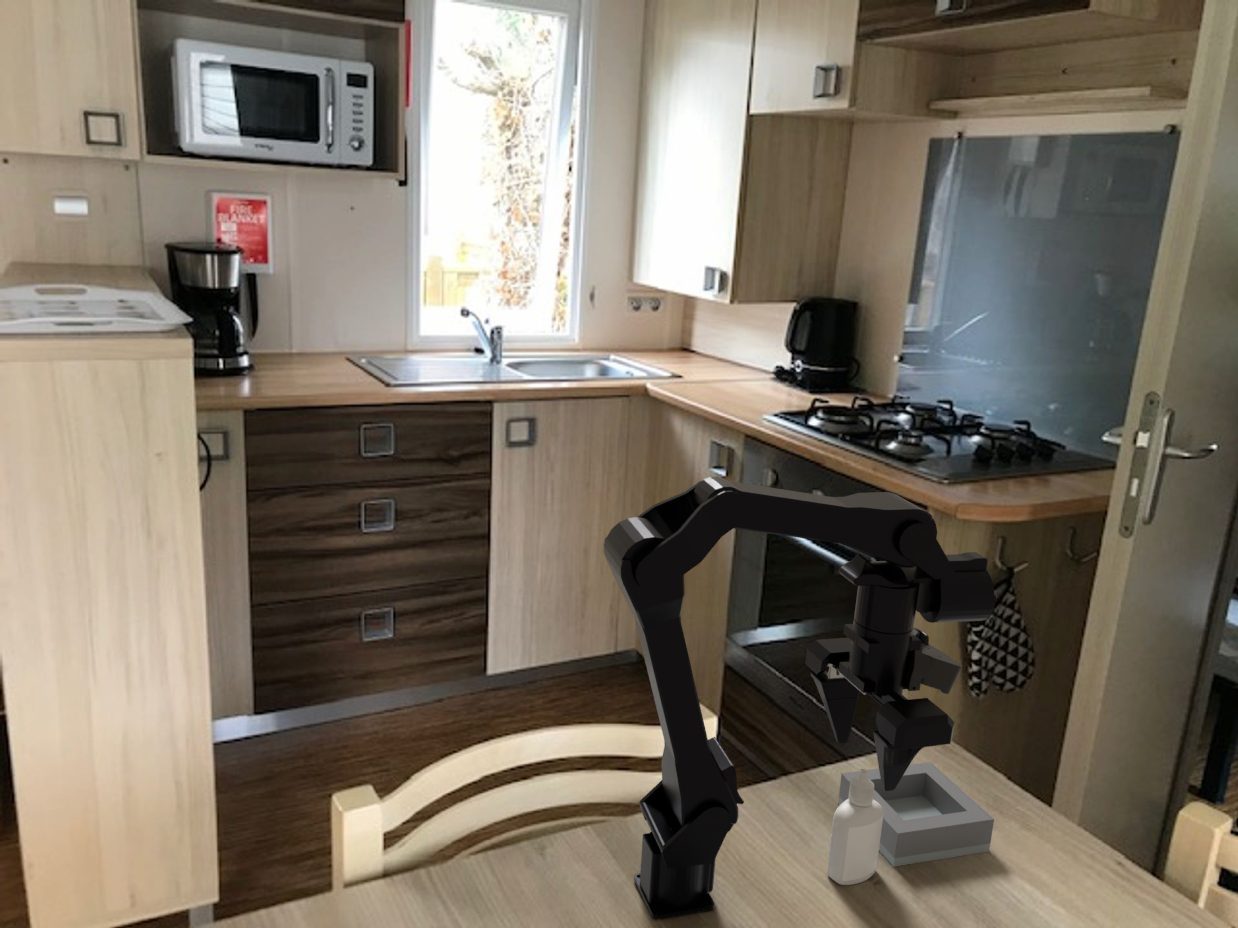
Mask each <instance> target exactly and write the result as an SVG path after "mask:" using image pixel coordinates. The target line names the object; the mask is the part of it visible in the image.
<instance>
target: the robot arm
mask: <svg viewBox="0 0 1238 928" xmlns="http://www.w3.org/2000/svg"><path fill="white" fill-rule="evenodd" d="M934 519H935V518H934V517H933V515H932V514H931V513H929V512H928V511H926V510H924V509H923V508H921V507H919V506H917V504H916V505H915V504H914V503H912V502H910V501H908V500H906V499H904V498H903V497H901V496H899V495H897V494H896V493H892V492H889V491H888V492H887V491H883V492H882V491H878V492H877V491H876V492H874V491H873V492H855V493H854V494H849V495H846V496H827V495H822V494H815V493H807V492H801V491H795V490H789V489H782V488H775V487H768V486H762V485H755V484H750V483H743V482H736V481H730V480H727V479H724V478H723V477H720V476H709V477H705V478H704V479H701V480H700V481H698V482H696V484H694V485H692V486H691V487H690V488H688V489H687V490H685V491H683V492H681V493H678V494H677V495H674V496H671V497H669V498H666V499H664V500H662V501H660V502H657V503H655V504H654V505H652V506H650V507H648V508H647V509H646V510H645V511H643V512H641V513H640V514H639V515H637V516H635V517H628V518H625V519H623V520H622V521H619V522H618V523H616V525H614V526H613V527H612V528H611V530H610V531H609V533H608V534H607V536H606V537H605V538H604V541H603V554H604V558H605V560H606V562H607V564H608V566H609V568H610V571H611V572H612V575H613V577H614V579H615V582H616V584H617V586H618V588H619V590H620V592H621V594H622V596H623V598H624V600H625V602H626V604H627V606H628V607H629V609H630V612H631V614H632V615H633V618H634V621H635V625H636V630H637V633H638V637H639V642H640V645H641V649H642V654H643V658H644V663H645V666H646V669H647V671H646V672H647V675H648V678H649V682H650V687H651V690H652V691H651V692H652V695H653V699H654V703H655V707H656V712H657V716H658V720H659V724H660V728H661V732H662V736H663V741H664V742H663V743H664V747H663V751H662V756H661V762H660V763H661V780H660V781H659V782H658V783H657V784H656V785H655V786H654V787H653V788H652V789H651V790H649V791H648V793H646V794H645V795H644V796H643V797H642V798H641V799H640V800H639V802H638V803H639V804H638V805H639V806H640V811H641V813H642V816H643V819H644V820H645V821H646V823H647V824H648V827H649V830H650V832H647V833H643V834H642V843H641V844H642V845H641V859H640V872H636V873H634V875H633V880H634V882H635V885H636V886H637V889H638V891H639V893H640V895H641V897H642V899H643V901H644V903H645V906H646V907H647V910H648V912H649V914H650V915H651V917H652V918H653V919H655V920H656V919H657V920H658V919H664V918H665V919H666V918H671V917H677V916H678V917H679V916H682V915H684V916H685V915H688V914H695V913H702V912H707V911H712V910H715V907H716V906H715V901H714V899H713V897H712V896H711V895H710V893H711V892H713V890H714V882H715V881H714V880H715V870H716V857H717V855H718V853H719V851H720V849H721V847H722V845H723V842H724V840H725V839H726V836H727V834H728V833H729V832H730V831H731V830H732V828H733V827H734V825H736V824H737V823H738V821H739V816H740V815H739V806H738V805H744V804H745V803H744V802H745V801H744V800H743V797H742V796H741V794H740V793H739V791H738V787H737V783H738V782H737V772H736V766H735V764H733V762H732V760H731V759H730V758H729V756H728V754H727V753H726V751H725V750H724V749H723V746H722V745H721V744H720V742H719V741H718V739H717V738H716V737H715V736H713V737H711V738H709V739H708V735H707V731H706V726H705V722H704V718H703V713H702V709H701V705H700V699H699V695H698V691H697V688H696V682H695V678H694V674H693V670H692V666H691V665H692V664H691V661H690V656H689V651H688V647H687V644H686V643H687V642H686V638H685V634H684V630H683V626H682V625H683V624H682V621H681V620H682V618H681V617H682V611H683V605H684V600H685V595H686V594H685V574H687V573H688V572H689V571H691V570H692V569H694V568H695V567H697V566H698V565H699V564H701V563H702V562H703V561H704V559H705V558H706V557H707V556H708V554H709V553H710V552H711V550H713V548H714V547H715V546H716V545H717V543H718V542H719V541H720V539H722V537H723V536H725V535H726V534H727V533H729V532H730V531H732V530H733V529H734V530H742V531H749V532H756V533H763V534H771V535H777V536H783V537H791V538H799V539H806V540H814V541H819V542H820V541H821V542H826V543H834V544H841V545H844V546H846V547H848V548H852V549H854V550H855V551H856V550H857V551H859V552H861V553H857V554H856V555H855V557H854V558H853V559H851V560H850V561H848V562H845V563H844V564H843V565H841V566H840V567H839V568H838V573H839V574H840V575H841V576H843V577H844V578H845V579H847V581H848V582H850V583H852V585H854V586H856V587H857V592H856V602H855V609H854V617H853V623H845V624H844V625H843V635H844V636H846V637H840V638H838V637H836V638H835V637H834V638H826V639H825V638H823V639H815V640H814V641H813V642H812V643H810V645H809V646H808V647H807V648H806V655H805V665H806V666H807V667H808V668H809V669H810V670H811V671H810V677H811V678H812V679H813V680H814V683H815V685H816V688H817V692H818V693H819V695H820V698H821V701H822V703H823V706H824V709H825V712H826V715H827V718H828V720H829V722H830V723H829V724H830V726H831V729H832V732H833V736H834V737H835V740H836V742H837V743H838V744H839V745H842V744H847V743H848V742H849V738H850V735H851V732H852V728H853V723H854V720H855V719H854V718H855V716H856V715H855V713H856V709H857V704H858V700H859V695H860V694H861V693H862V694H863V695H864V696H865V695H867V696H870V697H871V699H873V700H874V701H875V702H876V703H878V705H880V706H881V707H880V708H879V709H878V710H877V711H876V715H875V716H876V717H875V723H876V726H877V730H873V732H872V733H873V738H874V746H875V751H876V757H877V764H878V769H879V772H880V778H881V782H882V786H883V789H884V790H885V791H892V790H894V789H895V788H896V786H897V785H898V783H899V781H900V780H901V778H902V776H903V775H904V773H905V771H906V770H907V768H908V766H909V765H911V763H912V762H913V760H914V759H915V757H916V756H917V754H919V752H920V751H921V750H922V749H924V748H929V747H936V746H937V747H938V746H943V745H951V743H952V741H953V734H954V729H955V721H954V720H953V719H952V718H951V717H950V715H949V714H947V713H946V712H945V711H944V710H943V709H942V708H940V707H939V706H937V704H935V703H934V702H933V701H932V700H930V699H929V698H928V697H922V698H911V699H910V698H909V699H908V698H907V697H906V696H904V695H903V690H907V691H908V692H916V691H920V690H921V685H922V686H923V685H924V686H927V687H930V688H931V689H932V688H933V689H936V690H938V691H940V693H942V694H945V695H949V694H950V693H951V690H952V688H953V686H954V684H955V682H956V680H957V679H958V676H959V673H960V672H961V670H962V668H963V665H962V664H960V663H958V662H957V660H955V659H953V658H952V657H951V656H949V655H948V654H946V653H945V652H943V651H942V650H940V649H938V648H936V647H935V646H933V645H932V644H930V643H929V642H930V638H929V635H928V634H927V633H925V632H924V631H923V630H921V629H919V628H917V627H914V626H915V621H916V614H917V613H919V614H920V616H921V617H922V618H923V620H925V621H926V622H928V623H931V624H933V623H934V624H935V623H953V622H954V623H955V622H956V623H957V622H958V623H959V622H960V623H961V622H976V621H977V622H979V621H986V620H987V619H989V618H990V616H991V615H992V614H993V612H994V610H995V606H996V601H997V596H996V594H995V588H994V583H993V580H992V577H991V575H990V573H989V571H988V570H987V568H988V561H989V560H988V558H987V557H985V556H983V555H981V554H979V553H978V552H976V551H972V552H971V551H970V552H969V551H967V552H966V551H965V552H963V553H959V554H946V553H945V551H944V549H943V548H942V546H941V544H940V543H939V541H938V539H937V536H938V528H937V522H936V520H934ZM862 553H863V554H866V555H868V556H870V557H873V558H875V559H877V560H880V561H876V560H875V561H871V560H870V559H868V558H867V557H865V556H864V555H863V554H862ZM916 612H917V613H916Z"/></svg>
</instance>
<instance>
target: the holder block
mask: <svg viewBox="0 0 1238 928" xmlns="http://www.w3.org/2000/svg"><path fill="white" fill-rule="evenodd" d="M866 770H867V773H868V779H869V780H871V781H872V782H873V783H874V794H873V800H875V801H877V802H878V803H879V804H880V805H881V806H882V808H883V822H882V830H881V838H880V846H879V853H881V855H883V857H884V858H885V859H886V860H887V862H889V863H890V865H891V866H892V867H898V866H905V865H912V864H919V863H924V862H930V861H938V860H943V859H944V860H945V859H951V858H956V857H962V856H969V855H974V854H981V853H988V852H990V849H991V841H992V835H993V830H994V825H995V824H994V822H995V818H993V817H992V815H991V814H989V813H988V812H987V811H986V810H985V809H984V808H983V807H981V805H979V803H977V802H976V801H975V800H974V799H973V798H971V797H970V795H969V794H967V793H966V792H965V791H964V790H963V789H961V787H960V786H958V785H957V784H956V783H955V781H954V782H953V780H951V778H949V777H948V776H947V775H946V774H945V773H944V772H943V771H941V769H939V768H938V767H937V766H936V765H935V764H934V763H933V762H931V761H928V762H921V763H912V764H911V763H910V765H909V766H908V768H907V770H906V771H905V773H904V775H903V776H902V778H901V780H900V781H899V783H898V785H897V786H896V788H895V789H894V790H892V791H885V790H884V789H883V786H882V782H881V778H880V772H879V768H873V769H866ZM859 773H860V770H857V771H850V772H842V773H841V775H840V782H839V783H840V784H839V791H838V792H839V793H838V802H837V804H838V805H839V806H840V805H841V804H842V803H843V802H844V801H846V800H847V799H848V797H849V788H850V781H851V779H853V778H855V777H858V776H859Z"/></svg>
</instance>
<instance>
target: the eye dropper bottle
mask: <svg viewBox="0 0 1238 928" xmlns="http://www.w3.org/2000/svg"><path fill="white" fill-rule="evenodd" d="M867 770H868V769H865V768H864V769H863V768H862V769H860V770H859V771H860V773H859V776H858V777H855V778H853V779H851V781H850V788H849V797H848V799H847V800H846V801H844V802H843V803H842V804H841V805H839V806H838V807H837V808H836V810H835V811H834V813H833V819H832V825H831V831H830V834H831V836H830V842H829V851H828V859H827V860H828V861H827V868H826V874H827V877H829V878H830V879H832V880H833V881H834V882H836V883H837V884H839V885H841V886H852V885H857V884H860V883H862V882H865V881H867V880H868V879H870V878H871V877H872V876H873V875H874V874H875V872H876V871H877V868H878V861H879V853H880V851H879V846H880V838H881V830H882V822H883V808H882V806H881V805H880V804H879V803H878V802H877V801H875V800H873V794H874V783H873V782H872V781H871V780H869V779H868V773H867Z"/></svg>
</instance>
